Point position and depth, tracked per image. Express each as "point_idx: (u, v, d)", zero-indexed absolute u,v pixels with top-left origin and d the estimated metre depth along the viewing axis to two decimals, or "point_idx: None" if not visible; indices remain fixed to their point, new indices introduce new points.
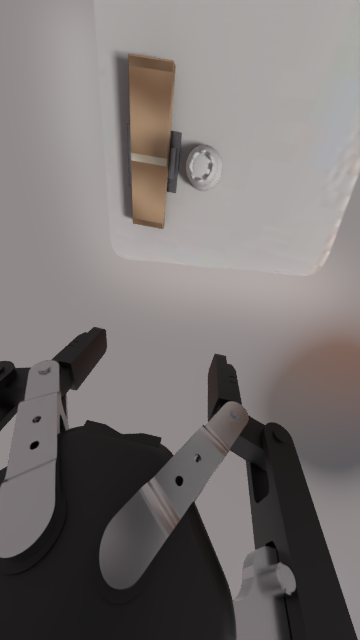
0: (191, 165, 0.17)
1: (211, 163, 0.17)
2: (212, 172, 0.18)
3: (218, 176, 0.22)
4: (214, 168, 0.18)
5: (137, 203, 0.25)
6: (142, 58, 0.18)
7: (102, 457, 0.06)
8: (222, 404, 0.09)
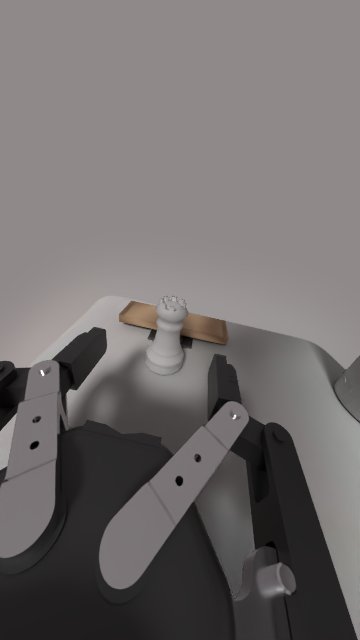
0: (174, 297, 0.18)
1: (174, 310, 0.16)
2: (167, 310, 0.16)
3: (157, 361, 0.18)
4: (170, 311, 0.16)
5: (146, 306, 0.27)
6: (225, 326, 0.26)
7: (102, 457, 0.06)
8: (222, 404, 0.09)
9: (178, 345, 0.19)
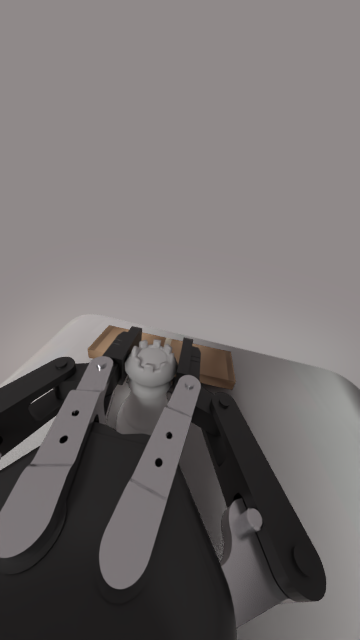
0: (156, 342, 0.11)
1: (154, 369, 0.10)
2: (141, 371, 0.10)
3: None
4: (146, 373, 0.10)
5: None
6: (230, 360, 0.20)
7: (102, 457, 0.06)
8: None
9: None
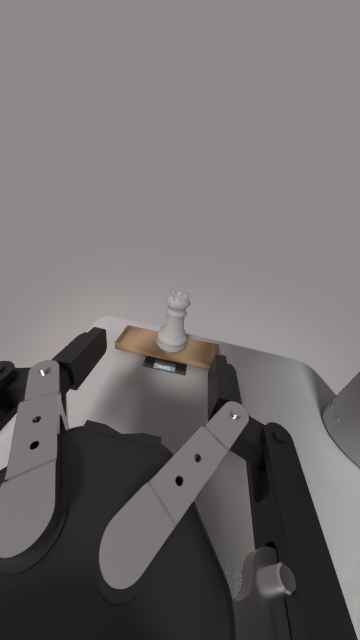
0: (179, 292, 0.23)
1: (180, 301, 0.22)
2: (174, 301, 0.22)
3: (166, 341, 0.24)
4: (177, 302, 0.21)
5: (142, 331, 0.28)
6: (218, 350, 0.27)
7: (102, 457, 0.06)
8: (222, 404, 0.09)
9: (182, 329, 0.25)
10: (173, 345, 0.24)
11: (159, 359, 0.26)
